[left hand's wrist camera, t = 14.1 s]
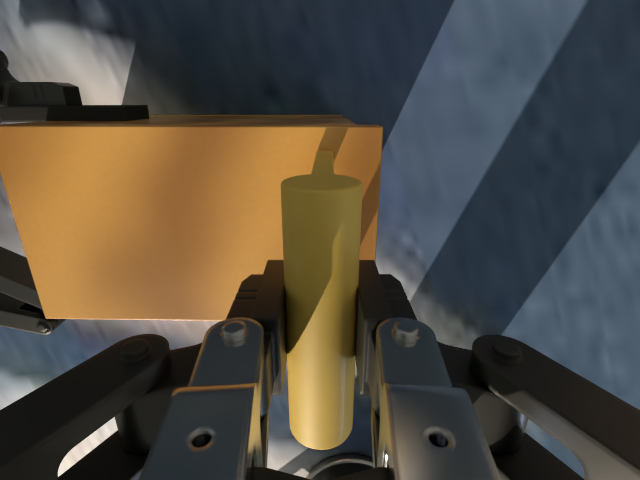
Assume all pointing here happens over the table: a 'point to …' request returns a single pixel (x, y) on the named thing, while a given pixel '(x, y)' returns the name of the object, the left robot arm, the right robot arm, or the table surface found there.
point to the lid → (206, 233)
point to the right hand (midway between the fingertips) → (152, 203)
